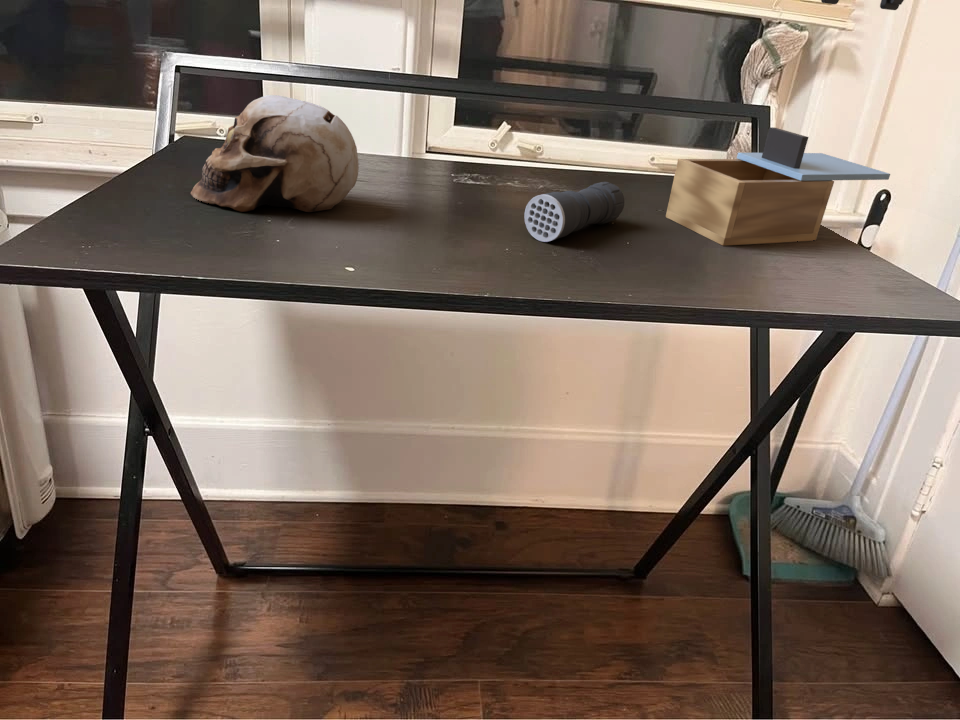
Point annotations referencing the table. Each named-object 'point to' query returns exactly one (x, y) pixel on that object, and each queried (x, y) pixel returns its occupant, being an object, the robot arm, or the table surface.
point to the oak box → (745, 202)
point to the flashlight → (572, 210)
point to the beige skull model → (281, 159)
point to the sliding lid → (806, 160)
